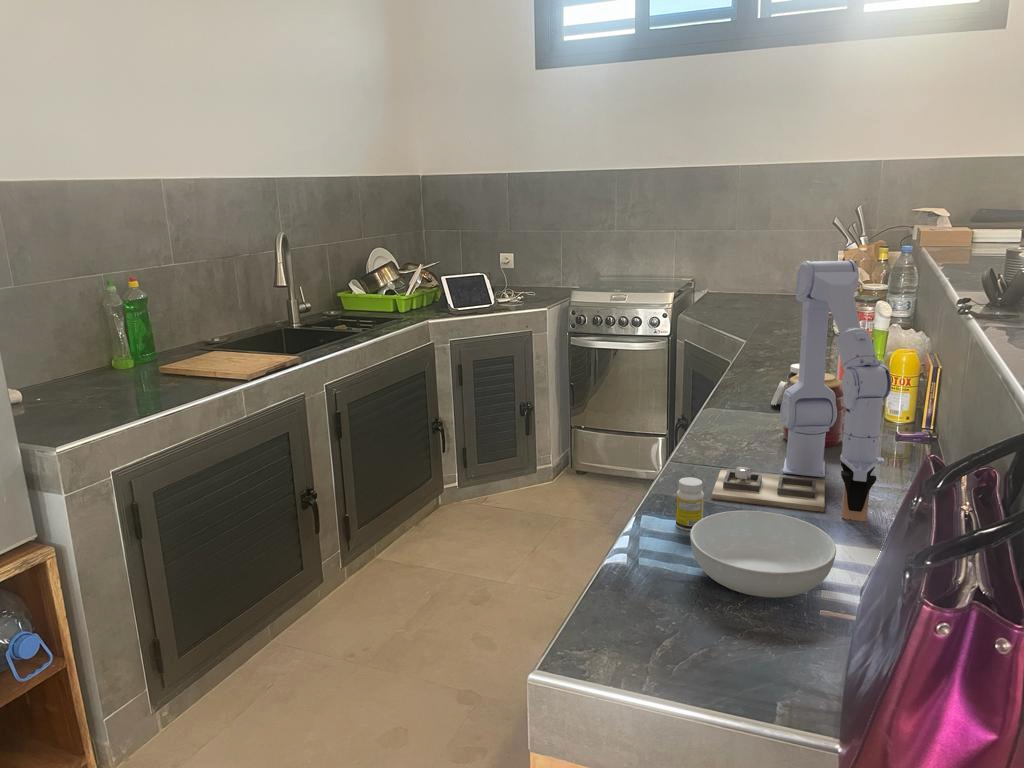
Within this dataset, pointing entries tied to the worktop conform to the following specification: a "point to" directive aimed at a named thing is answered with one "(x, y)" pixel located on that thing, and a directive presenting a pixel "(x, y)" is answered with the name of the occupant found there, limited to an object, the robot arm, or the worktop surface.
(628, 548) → the worktop surface
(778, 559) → the serving bowl
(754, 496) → the board
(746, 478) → the pin
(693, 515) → the supplement bottle
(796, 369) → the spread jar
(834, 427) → the canister
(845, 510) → the tan tall block
